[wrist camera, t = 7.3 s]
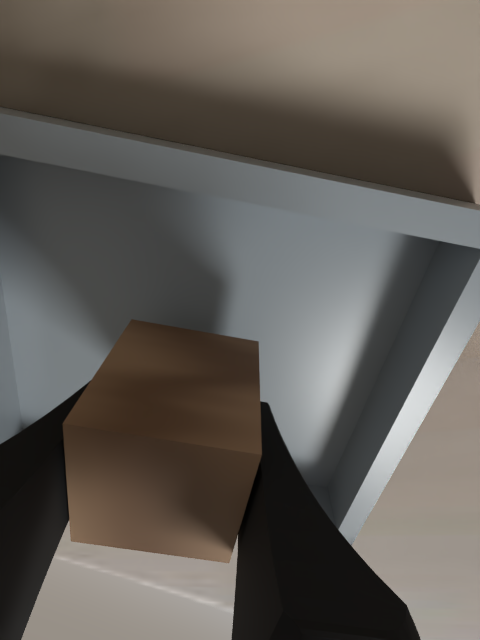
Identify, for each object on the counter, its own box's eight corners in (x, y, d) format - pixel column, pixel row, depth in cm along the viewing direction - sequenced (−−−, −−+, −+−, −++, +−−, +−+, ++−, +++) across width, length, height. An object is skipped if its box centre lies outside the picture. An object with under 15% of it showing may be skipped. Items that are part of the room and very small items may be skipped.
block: (258, 341, 12) (261, 454, 8) (236, 432, 15) (229, 562, 10) (131, 319, 12) (62, 423, 8) (127, 415, 14) (70, 541, 10)
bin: (476, 203, 13) (536, 222, 10) (337, 492, 20) (350, 546, 17) (-43, 97, 12) (-131, 86, 9) (14, 442, 19) (-26, 492, 16)
